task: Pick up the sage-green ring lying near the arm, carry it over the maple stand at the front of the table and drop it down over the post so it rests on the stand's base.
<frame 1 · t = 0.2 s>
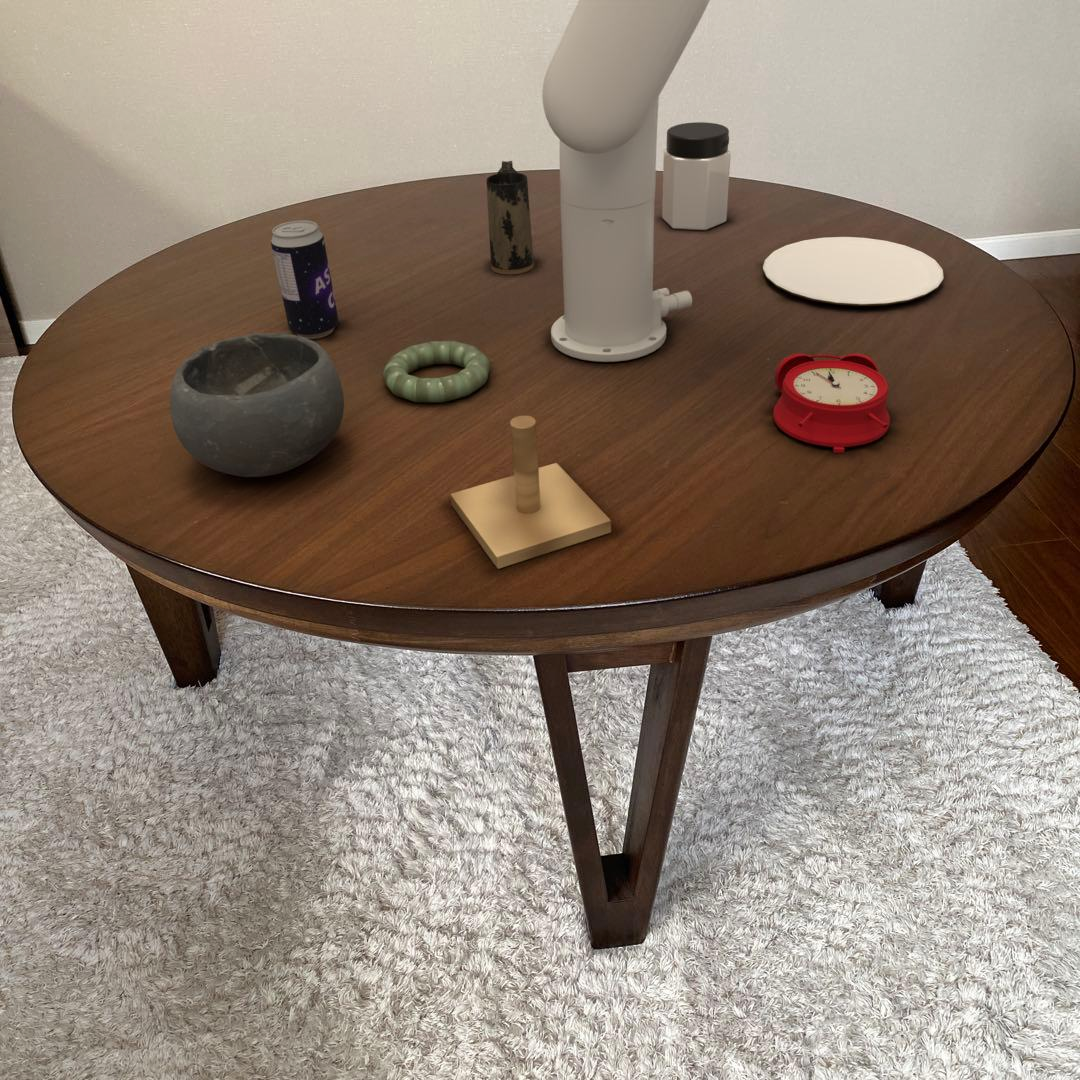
jar: (693, 221, 139), on the table
beverage can: (315, 332, 115), on the table
ring: (436, 370, 103), point 1 cm above the table
stand: (529, 518, 83), on the table
plate: (850, 278, 120), on the table
bowl: (272, 462, 92), on the table
alarm clock: (827, 414, 95), on the table
rusty spray can: (512, 264, 129), on the table
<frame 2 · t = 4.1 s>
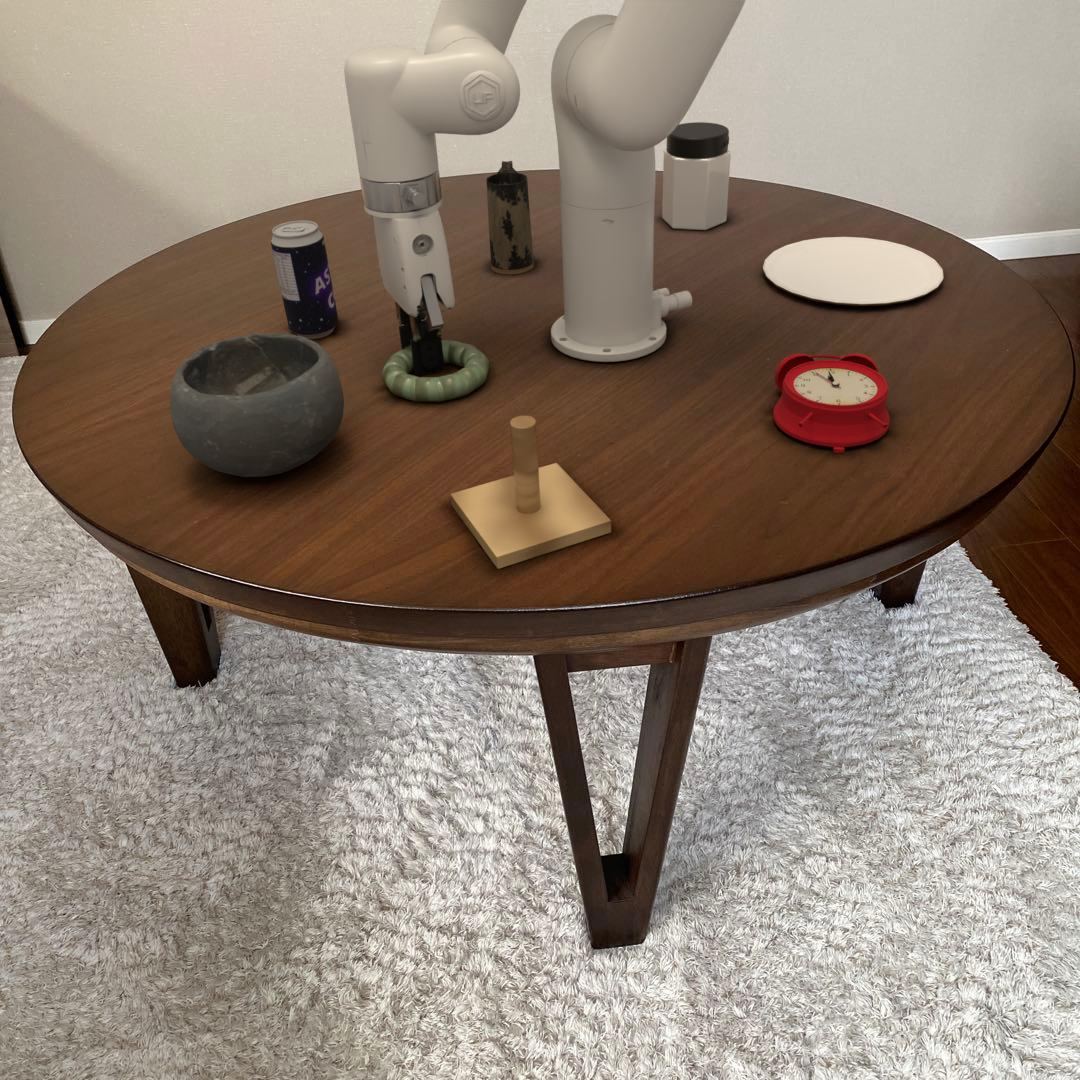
hand: (423, 363, 106), 0 cm above the table, tool pointing down, fingers closed on ring, 2 cm apart
ring: (435, 370, 103), point 1 cm above the table, touching gripper
everything else where it was.
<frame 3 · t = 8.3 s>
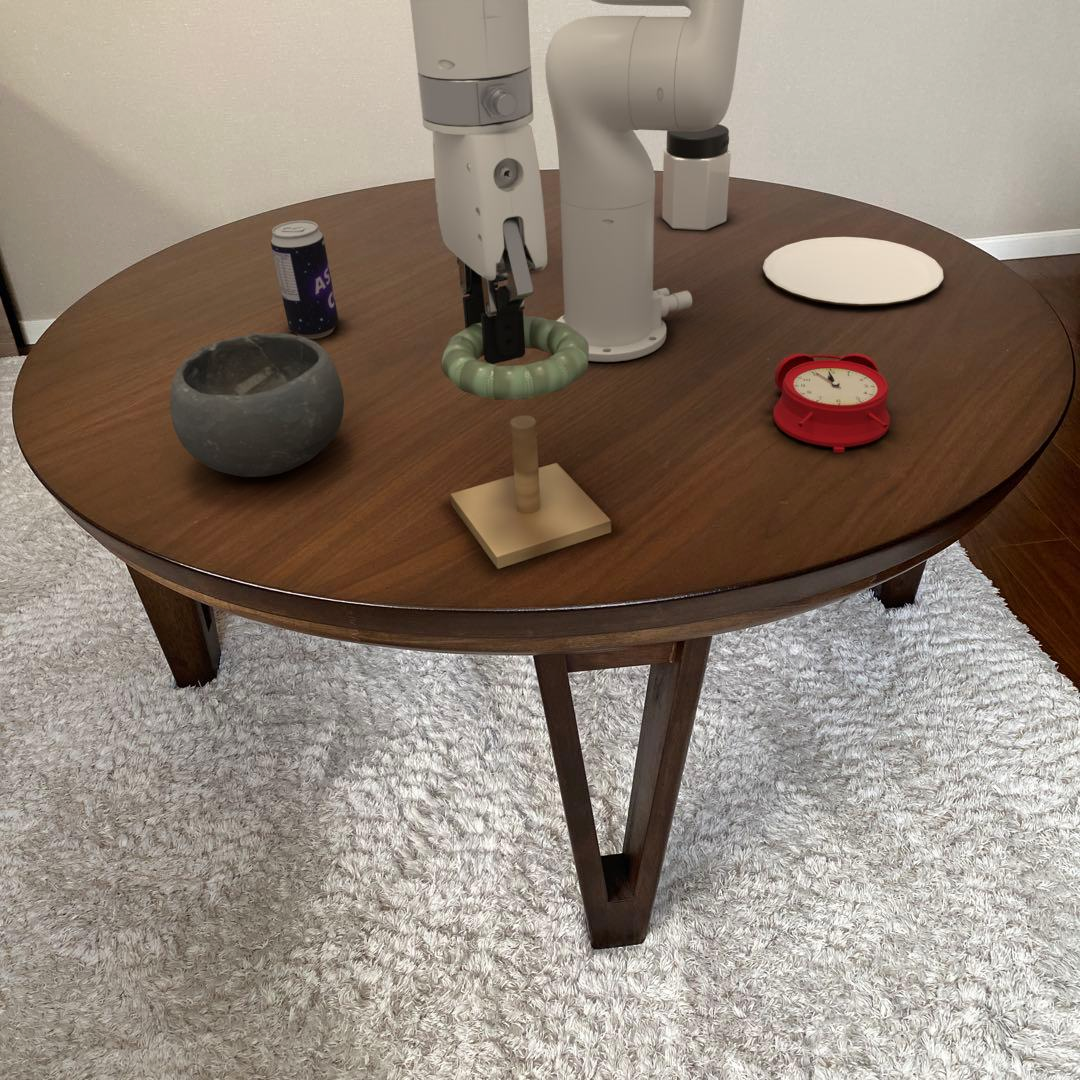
hand: (495, 348, 78), 14 cm above the table, tool pointing down, fingers closed on ring, 2 cm apart
ring: (515, 356, 74), point 15 cm above the table, touching gripper
everything else where it was.
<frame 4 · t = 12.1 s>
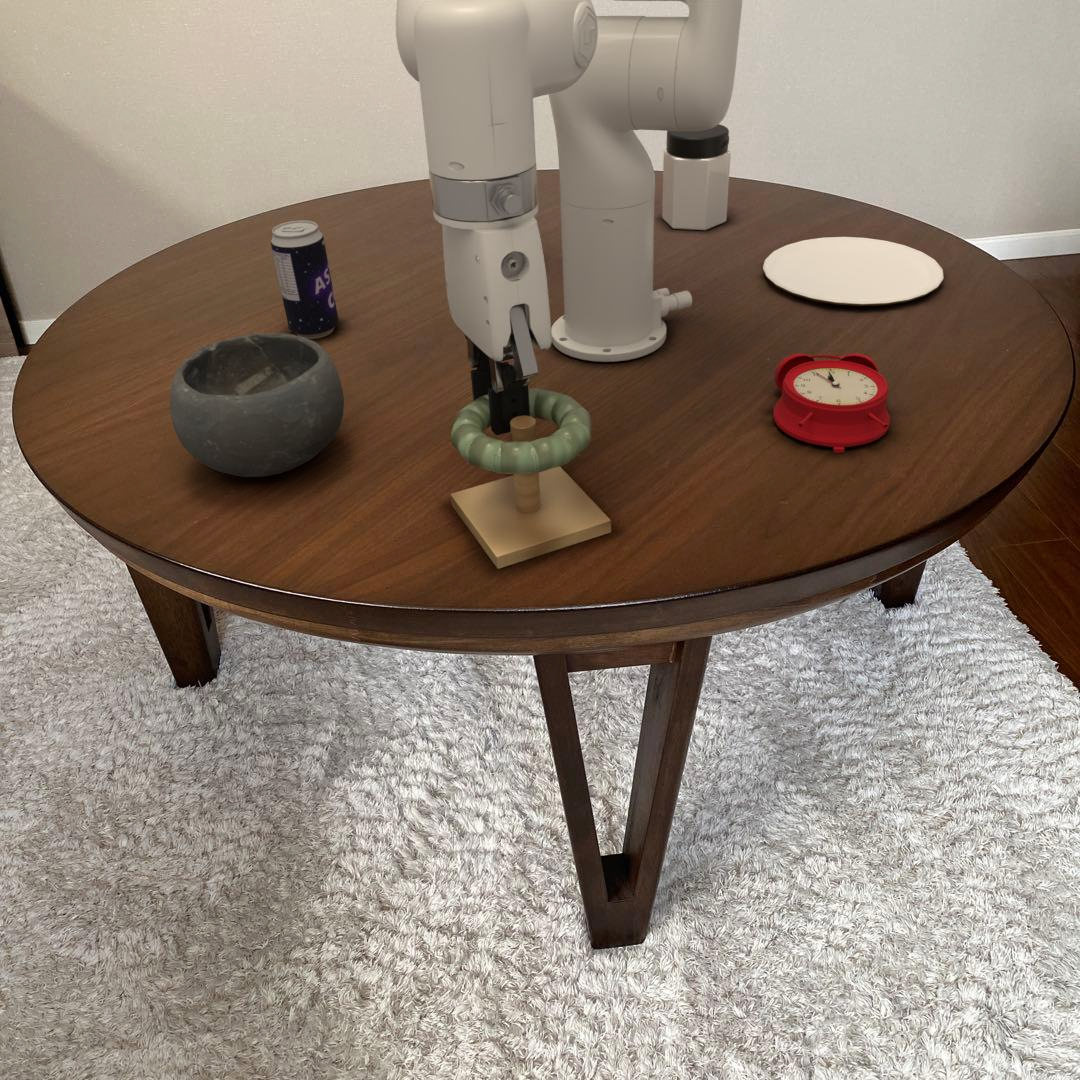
hand: (502, 418, 81), 7 cm above the table, tool pointing down, fingers closed on ring, 2 cm apart
ring: (521, 429, 78), point 9 cm above the table, touching gripper
everything else where it was.
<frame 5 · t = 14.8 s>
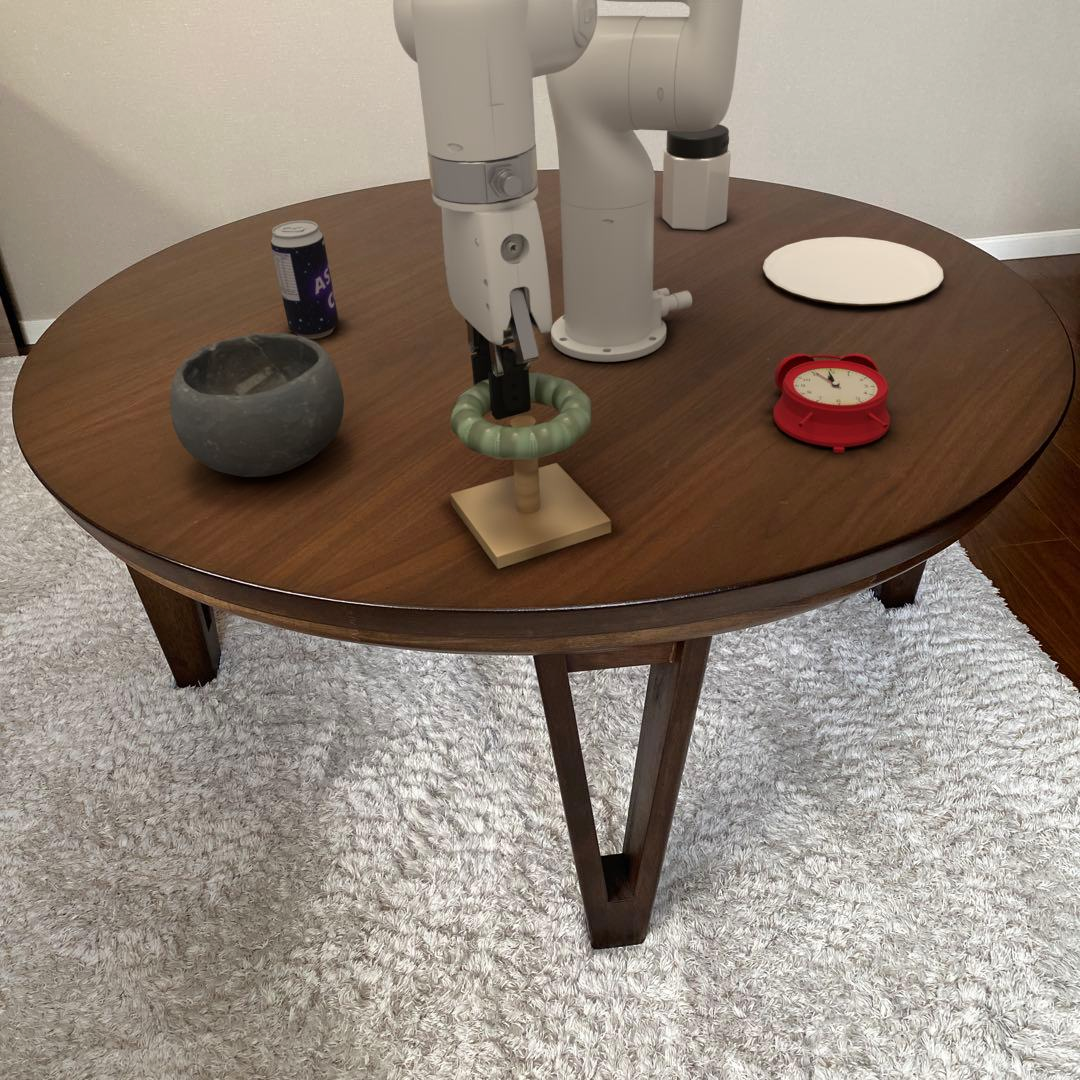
hand: (502, 403, 81), 9 cm above the table, tool pointing down, fingers closed on ring, 2 cm apart
ring: (521, 414, 77), point 10 cm above the table, touching gripper
everything else where it was.
when the fingers open (10 cm above the table, at t = 17.2 s): ring drops 8 cm, resting on stand.
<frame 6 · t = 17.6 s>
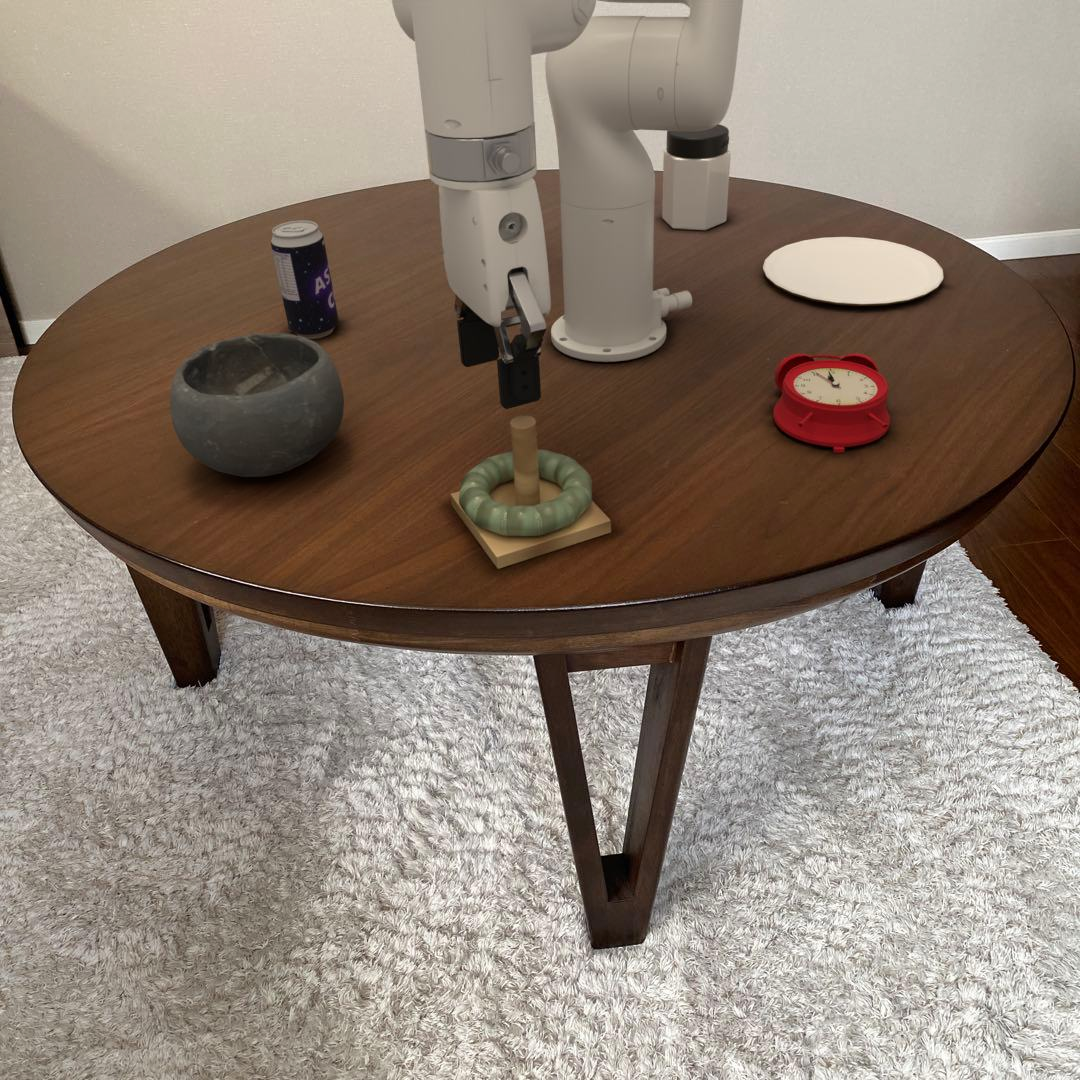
hand: (499, 380, 80), 11 cm above the table, tool pointing down, fingers open, 7 cm apart
ring: (525, 491, 82), point 2 cm above the table, touching stand
everything else where it was.
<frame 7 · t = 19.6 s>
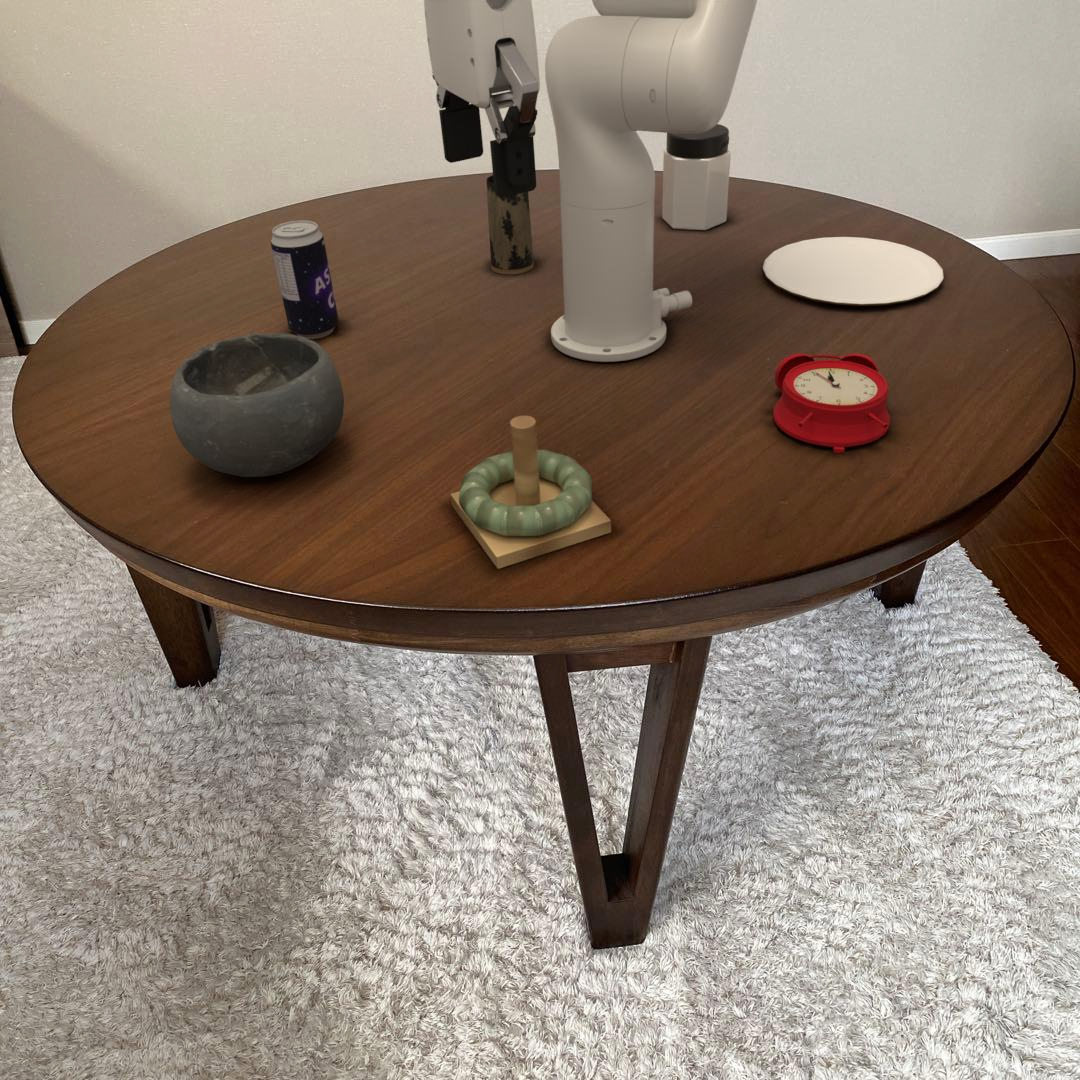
hand: (489, 175, 78), 25 cm above the table, tool pointing down, fingers open, 9 cm apart
nothing on the table moved.
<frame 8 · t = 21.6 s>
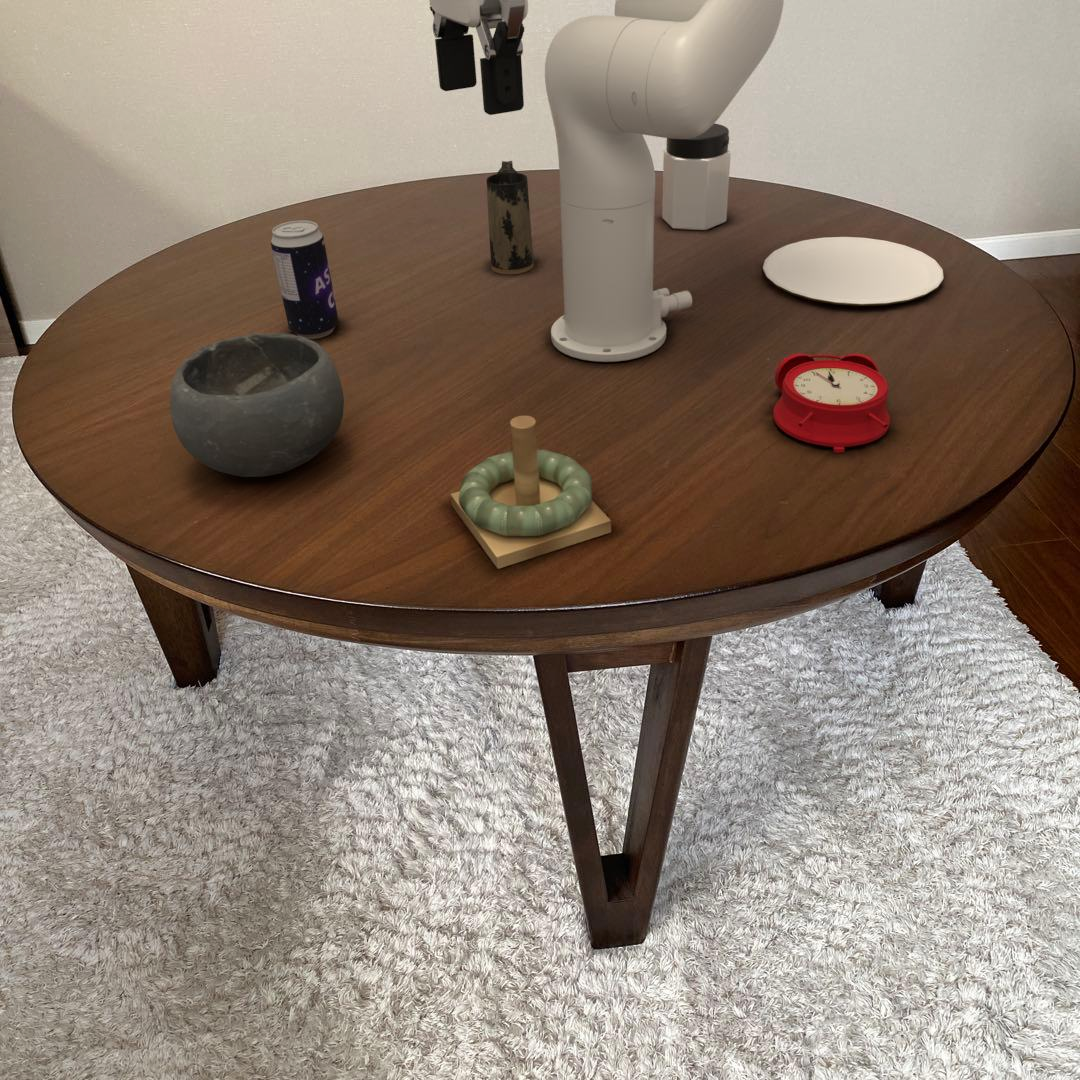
hand: (480, 99, 82), 28 cm above the table, tool pointing down, fingers open, 9 cm apart
nothing on the table moved.
at the end: ring 0.5 cm off-centre on the stand, point 2.4 cm above the stand's base; the gripper is holding nothing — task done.
